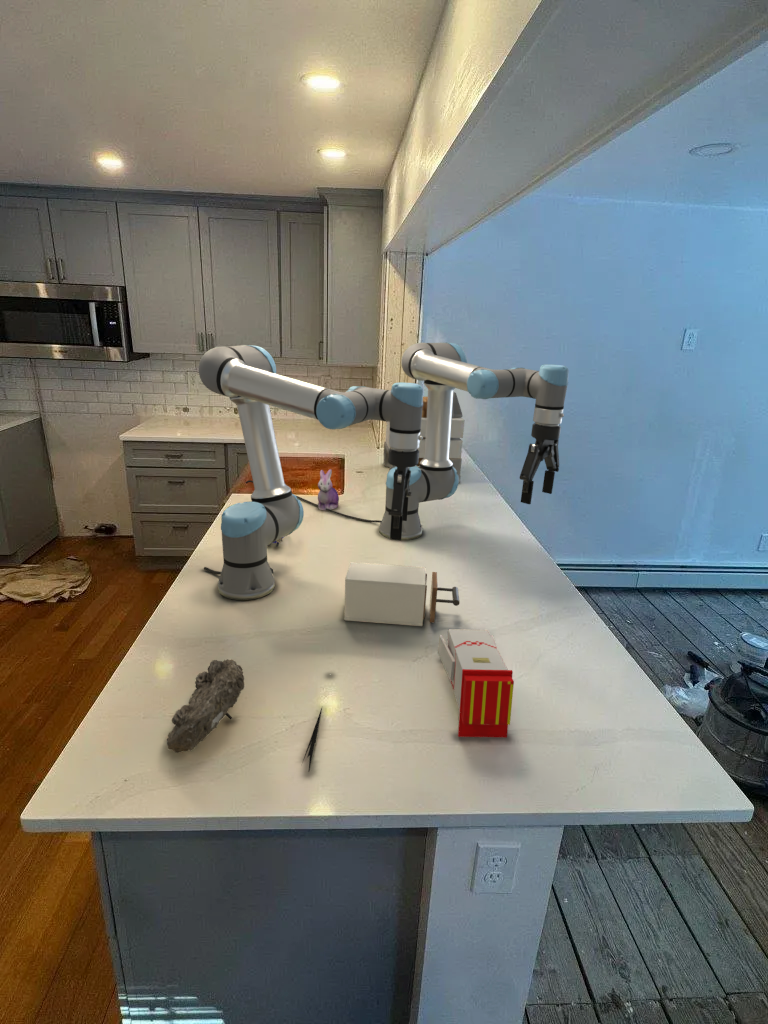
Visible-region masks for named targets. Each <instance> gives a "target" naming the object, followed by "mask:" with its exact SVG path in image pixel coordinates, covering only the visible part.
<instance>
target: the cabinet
mask: <svg viewBox="0 0 768 1024" xmlns="http://www.w3.org/2000/svg"><path fill="white" fill-rule="evenodd" d="M426 570H427V569H426V566H415V565H401V564H387V563H386V564H385V563H374V562H373V563H372V562H358V561H350V562H349V566H348V570H347V572H346V575H345V580H344V613H343V614H344V618H343V620H344V621H349V622H361V623H362V622H363V623H374V624H376V623H377V624H389V625H402V626H413V627H423V625H424V624H423V623H424V619H423V611H424V598H425V585H427V580H426V574H427V571H426Z"/></svg>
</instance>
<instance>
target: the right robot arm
mask: <svg viewBox="0 0 768 1024" xmlns="http://www.w3.org/2000/svg"><path fill="white" fill-rule="evenodd" d="M401 368H402V371H403V372H404V374H405V375H406V376H407V377H408V378H411V379H413V380H416V381H420V382H423V385H424V386H425V387H426V388H427V397H428V400H427V420H426V439H425V457H424V459H422V460H421V461H420V466H414V467H410V471H411V476H410V482H409V489H410V491H409V492H411V496H406V497H408V512H407V521H403V522H402V537H401V540H400V541H410V540H415V539H418V538H420V537H421V536H422V535H423V529H424V527H423V525H422V524H421V518H420V515H419V507H420V506H419V505H420V503H426V502H432V501H441V500H444V499H447V498H450V497H452V496H453V495H454V494H455V493H456V492H457V489H458V486H459V483H460V482H459V478H458V475H457V471H456V469H455V468H454V467H453V463H452V462H451V461H450V460H449V448H450V433H451V418H452V403H453V391H454V390H455V389H458V390H460V391H463V392H467V393H468V394H470V396H471V397H472V398H474V399H477V400H478V399H479V400H490V399H502V398H503V399H504V398H519V397H521V398H522V397H523V398H529V399H534V400H535V403H534V410H533V417H532V422H533V424H532V426H531V434H530V436H531V437H532V438H533V439H535V441H534V443H529V444H528V450H527V452H526V453H527V454H526V456H525V459H524V462H523V466H522V468H521V472H520V474H519V480H522V487H521V496H520V503H522V504H526V505H531V504H532V499H533V498H532V497H533V490H534V484H535V481H534V478H535V475H536V473H537V471H538V469H539V466H540V465H541V462H543V461H544V464H545V467H546V470H545V471H544V476H543V482H542V490H541V491H542V492H541V493H544V494H548V495H551V494H553V488H554V480H555V476H556V475H555V474H556V472H557V473H558V472H559V470H560V453H559V452H560V451H559V440H560V437H561V436H560V435H561V429H562V427H561V424H562V422H563V418H564V417H565V413H564V407H565V401H566V395H567V390H568V385H569V373H570V370H569V367H568V366H566V365H560V364H542V365H540V367H539V370H535V369H534V370H533V369H530V368H525V367H511V368H507V369H506V368H505V369H504V368H503V369H492V368H488V367H484V366H480V365H476V364H472V363H468V360H467V356H466V353H465V351H464V349H463V348H462V347H461V346H460V345H459V344H457V343H452V342H417V343H414V344H411V345H410V346H408V347H407V348H406V349H405V350H404V352H403V354H402V356H401ZM395 469H397V467H395V468H392V469H391V470H390V469H389V470H388V472H387V475H386V479H385V504H384V505H385V507H384V508H385V509H384V513H383V515H382V519H381V520H379V519H376V520H375V519H374V520H372V519H365V518H361V517H357V516H351V515H348V514H345V513H342V512H339V511H335V510H334V509H331V510H330V509H327V508H326V510H325V511H327V512H329V513H333V514H336V515H339V516H342V517H345V518H349V519H352V520H357V521H362V522H366V523H377V524H378V523H379V526H378V533H379V534H380V535H381V536H382V537H385V538H387V539H390V531H391V515H389V512H391V508H392V498H393V489H394V488H393V483H394V477H393V476H394V472H395ZM458 482H459V483H458ZM248 483H252V484H253V480H250V479H248V480H246V481H245V484H248ZM294 495H295V496H296V497H297V499H298V500H300V501H301V500H302V501H303V502H305V503H307V504H310V505H313V506H314V507H317V508H318V507H319V506H318V503H314V502H312V501H310V500H308V499H305V498H303V497H300V496H299V495H297V494H294ZM396 511H397V510H396Z"/></svg>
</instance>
